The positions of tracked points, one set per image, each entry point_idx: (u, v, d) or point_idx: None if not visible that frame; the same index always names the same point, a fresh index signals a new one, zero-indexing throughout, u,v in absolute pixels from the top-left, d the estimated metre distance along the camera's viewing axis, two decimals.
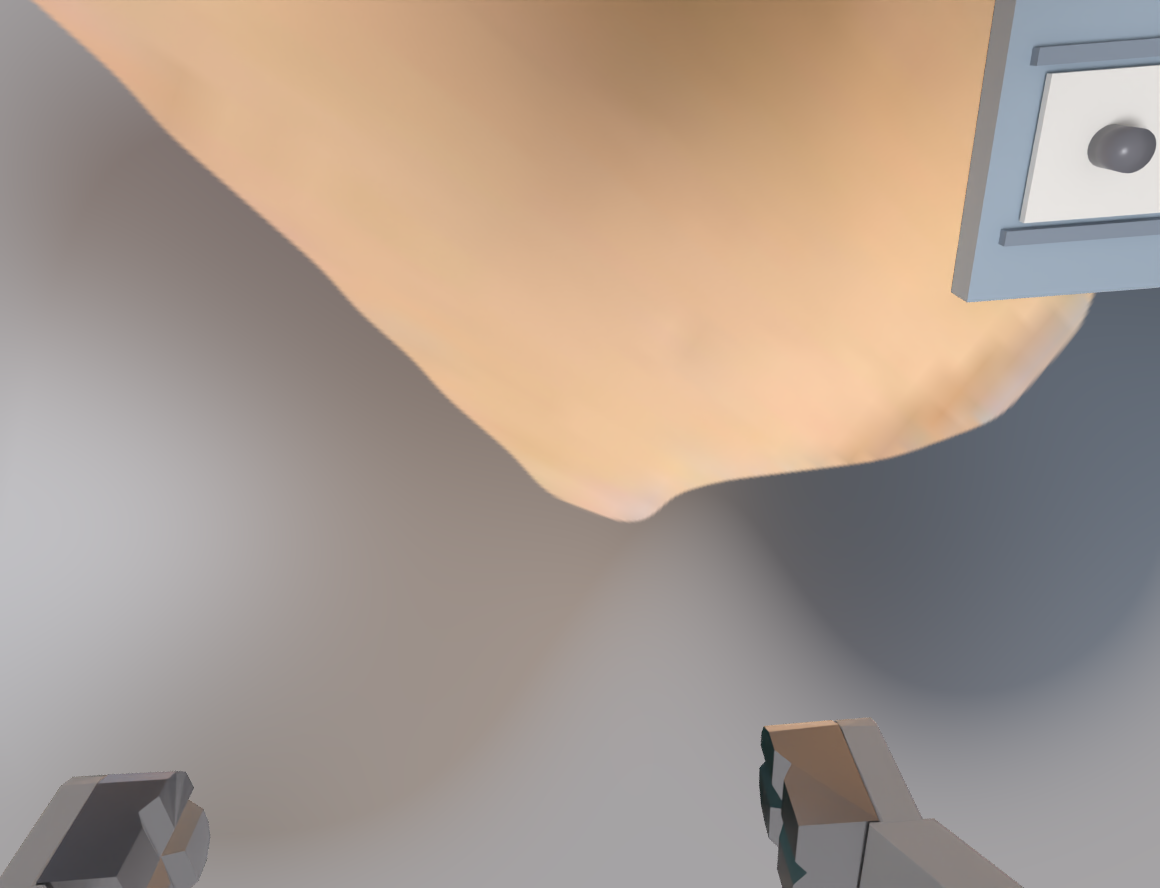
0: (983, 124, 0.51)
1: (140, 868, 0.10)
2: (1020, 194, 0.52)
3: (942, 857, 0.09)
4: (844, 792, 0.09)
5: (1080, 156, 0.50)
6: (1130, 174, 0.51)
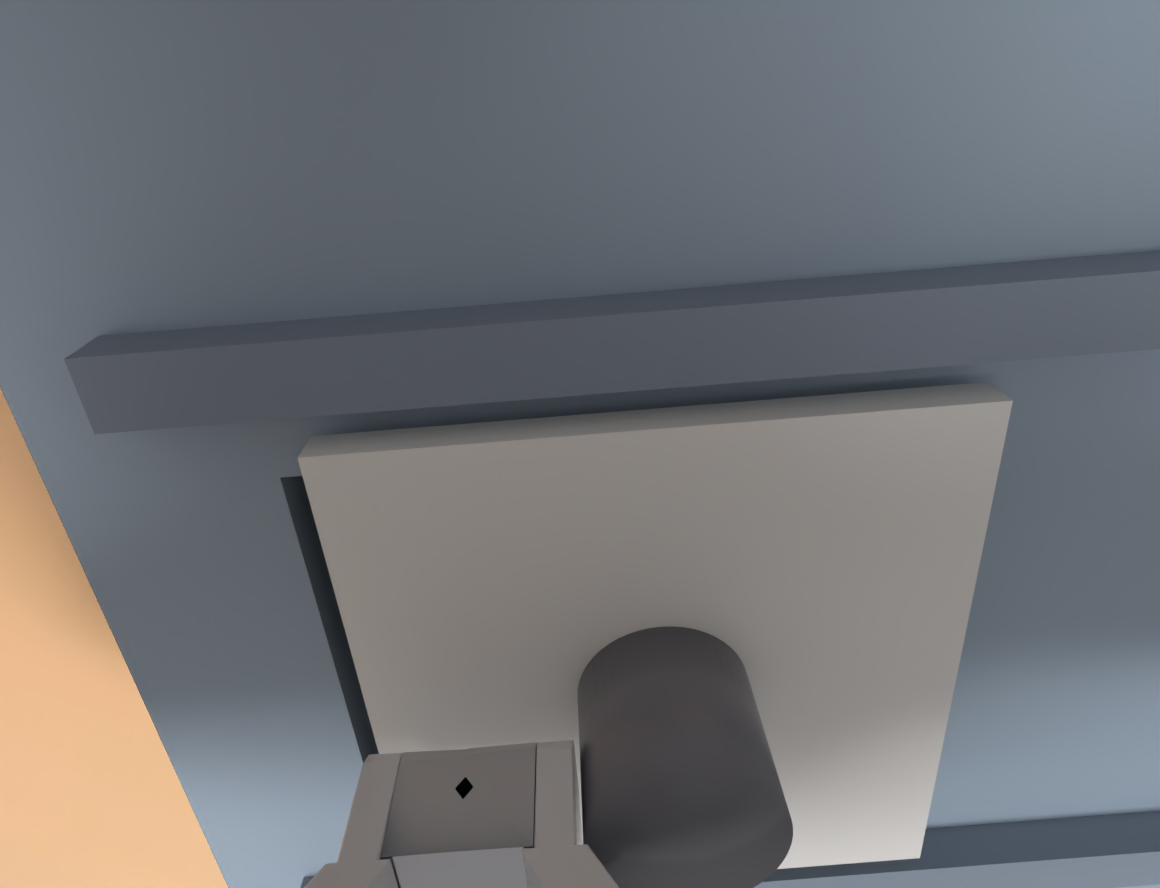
0: None
1: None
2: (325, 796, 0.14)
3: (576, 884, 0.09)
4: (512, 816, 0.10)
5: (556, 725, 0.12)
6: (781, 767, 0.13)
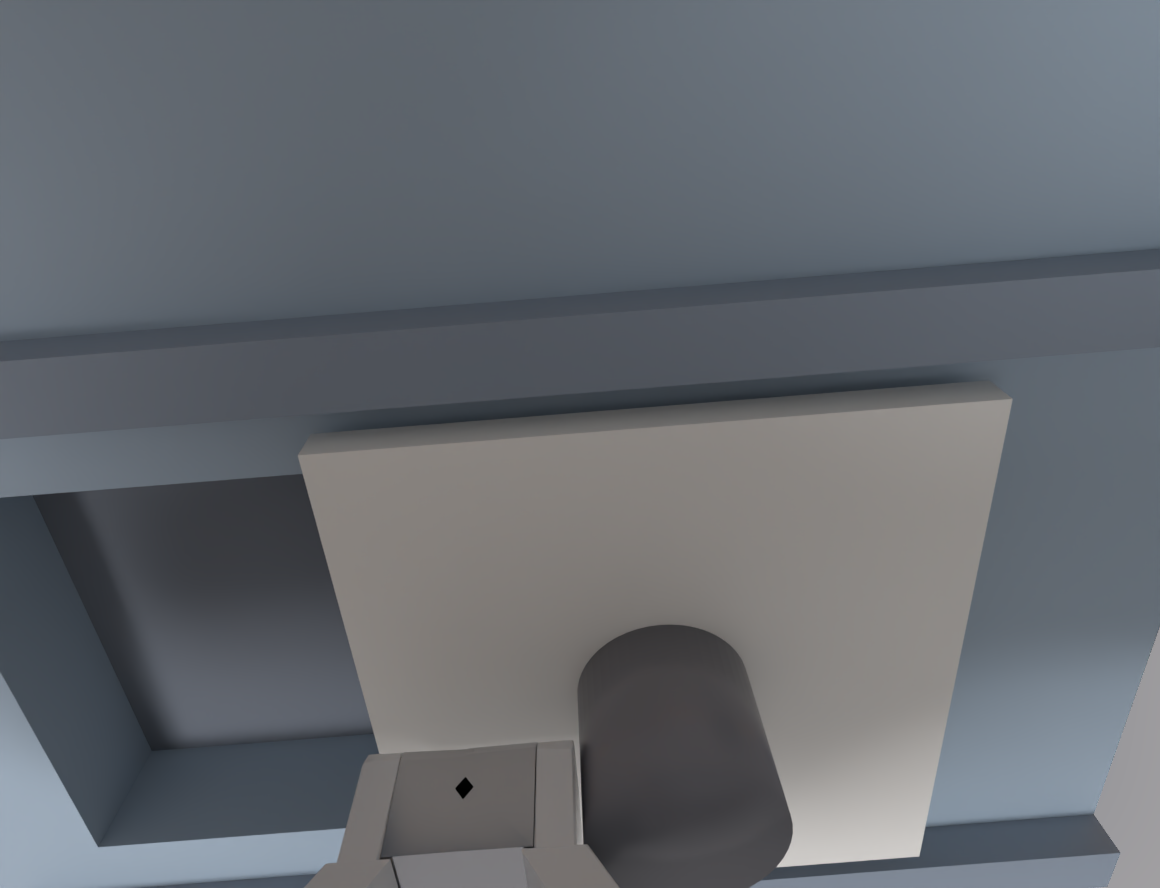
0: None
1: None
2: (32, 817, 0.14)
3: (576, 883, 0.09)
4: (512, 816, 0.10)
5: (556, 723, 0.12)
6: (781, 765, 0.13)
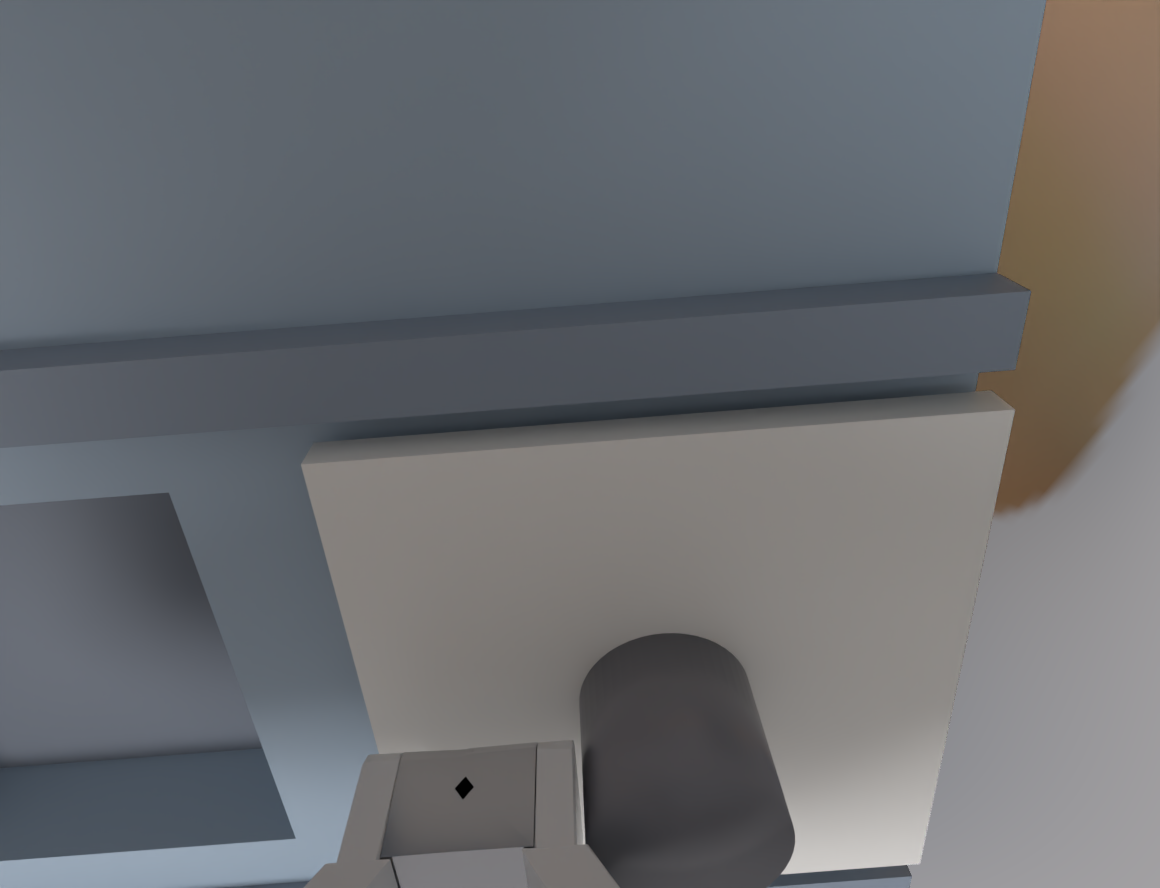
0: None
1: None
2: None
3: (577, 884, 0.09)
4: (513, 817, 0.10)
5: (558, 731, 0.12)
6: (782, 773, 0.13)
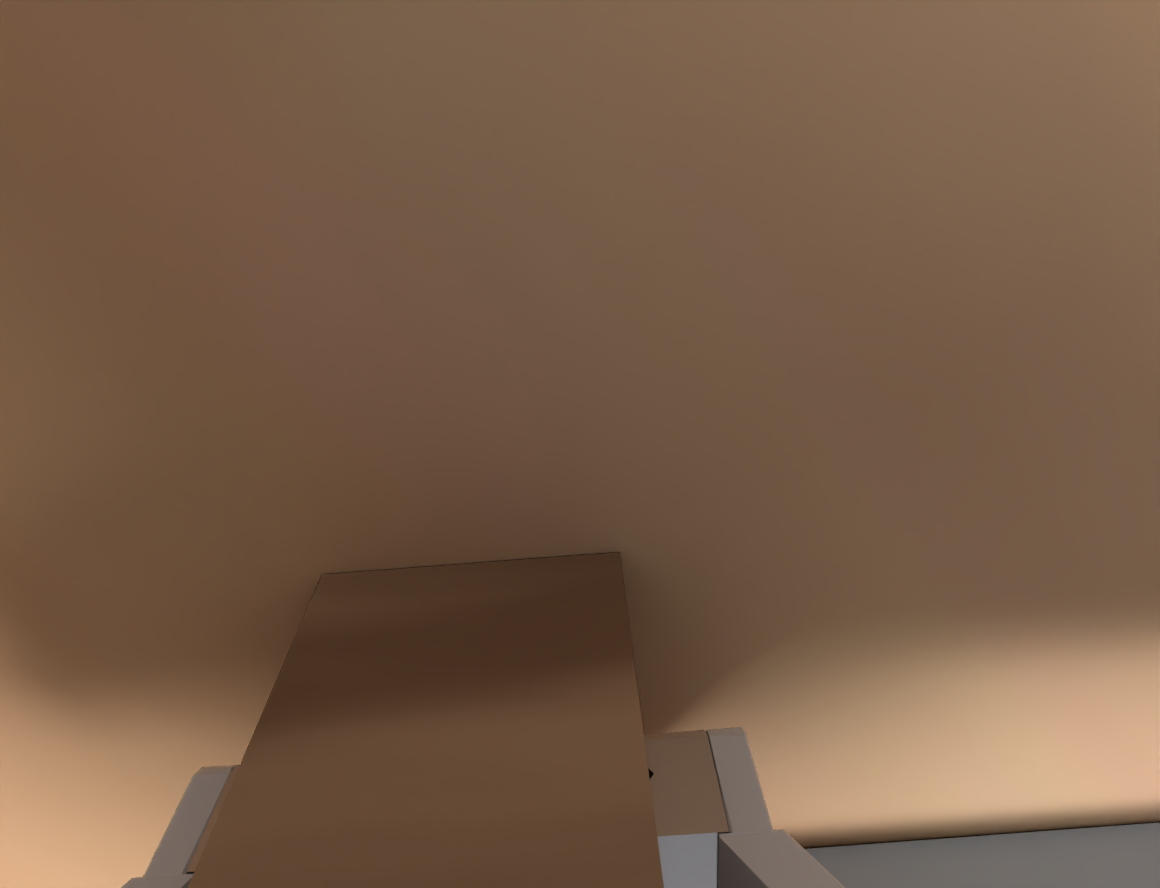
0: None
1: None
2: None
3: (784, 868, 0.09)
4: (700, 803, 0.09)
5: None
6: None
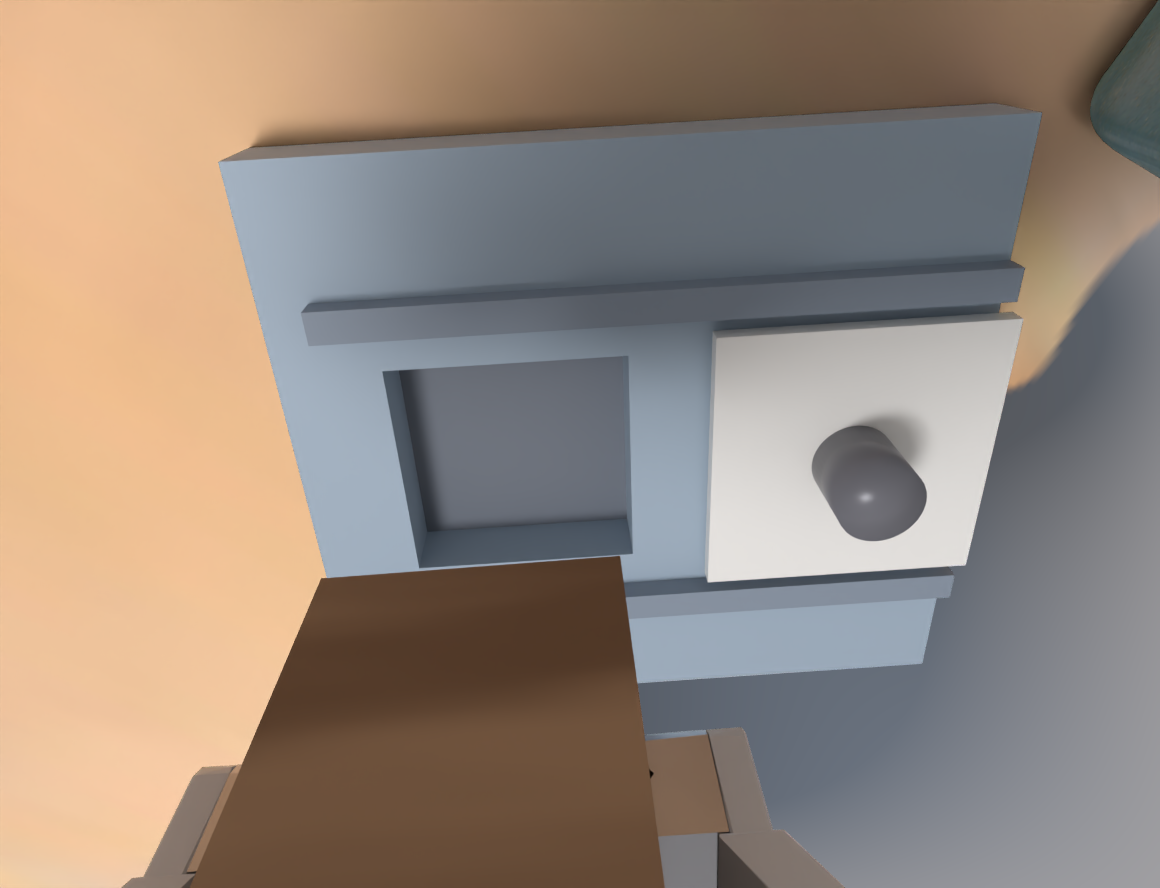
0: None
1: None
2: (390, 547, 0.27)
3: (784, 868, 0.09)
4: (701, 803, 0.09)
5: (798, 478, 0.25)
6: None
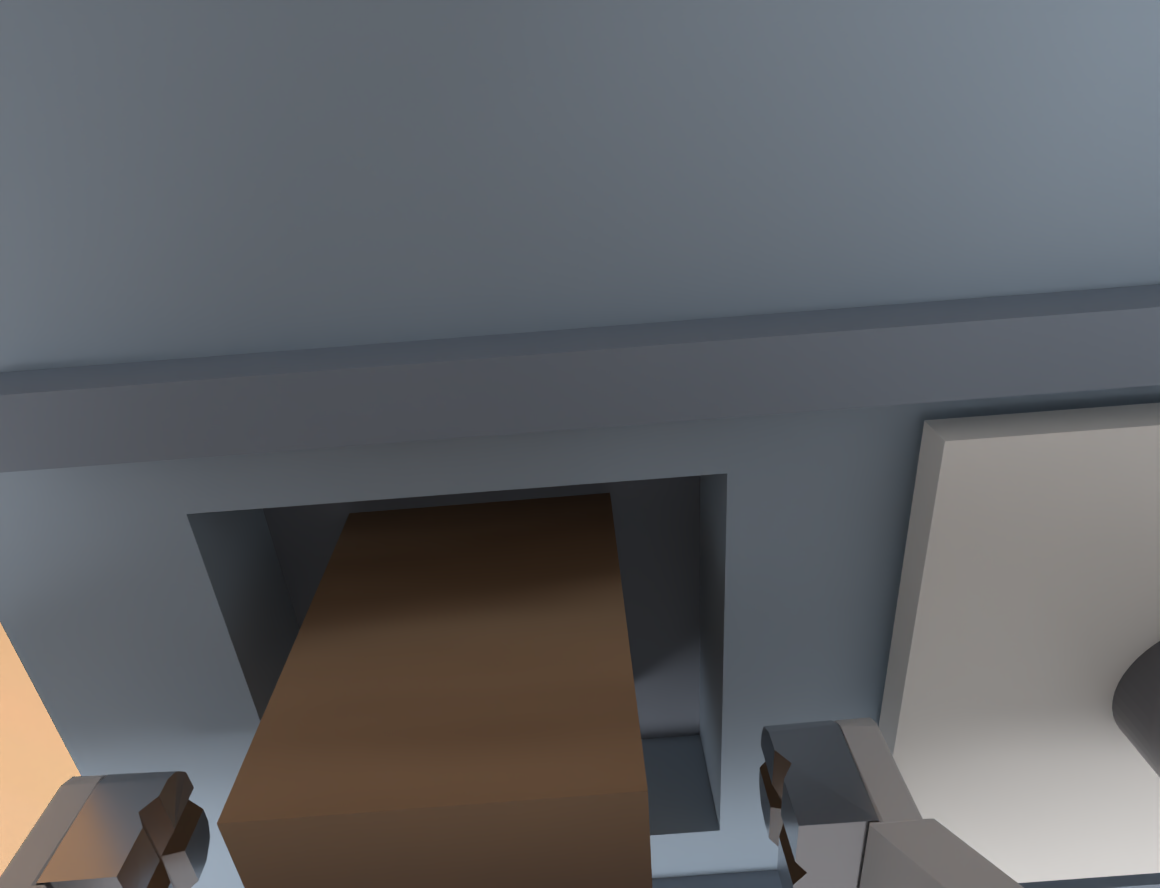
0: None
1: (140, 868, 0.10)
2: None
3: (942, 857, 0.09)
4: (844, 792, 0.09)
5: (1081, 718, 0.12)
6: None
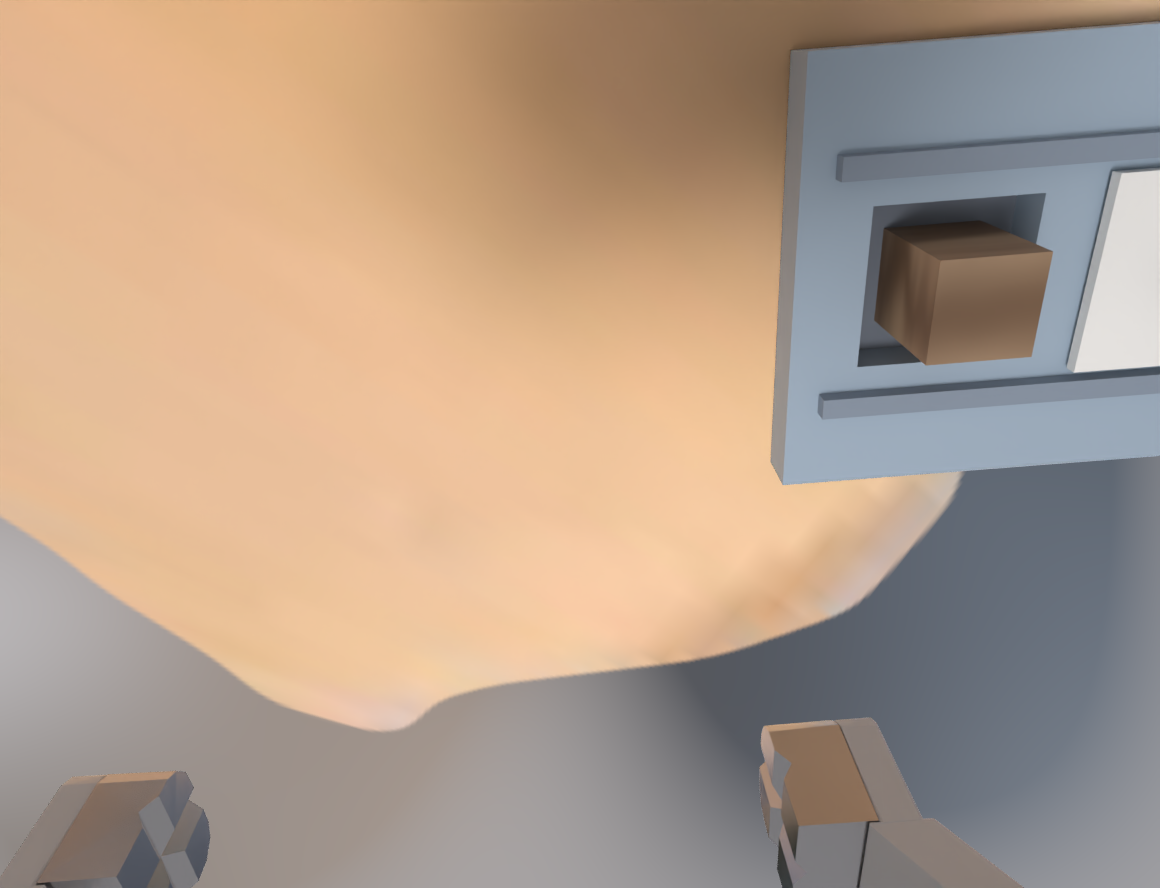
0: (786, 253, 0.36)
1: (140, 868, 0.10)
2: (841, 349, 0.37)
3: (942, 856, 0.09)
4: (844, 792, 0.09)
5: (1156, 285, 0.35)
6: None
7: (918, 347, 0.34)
